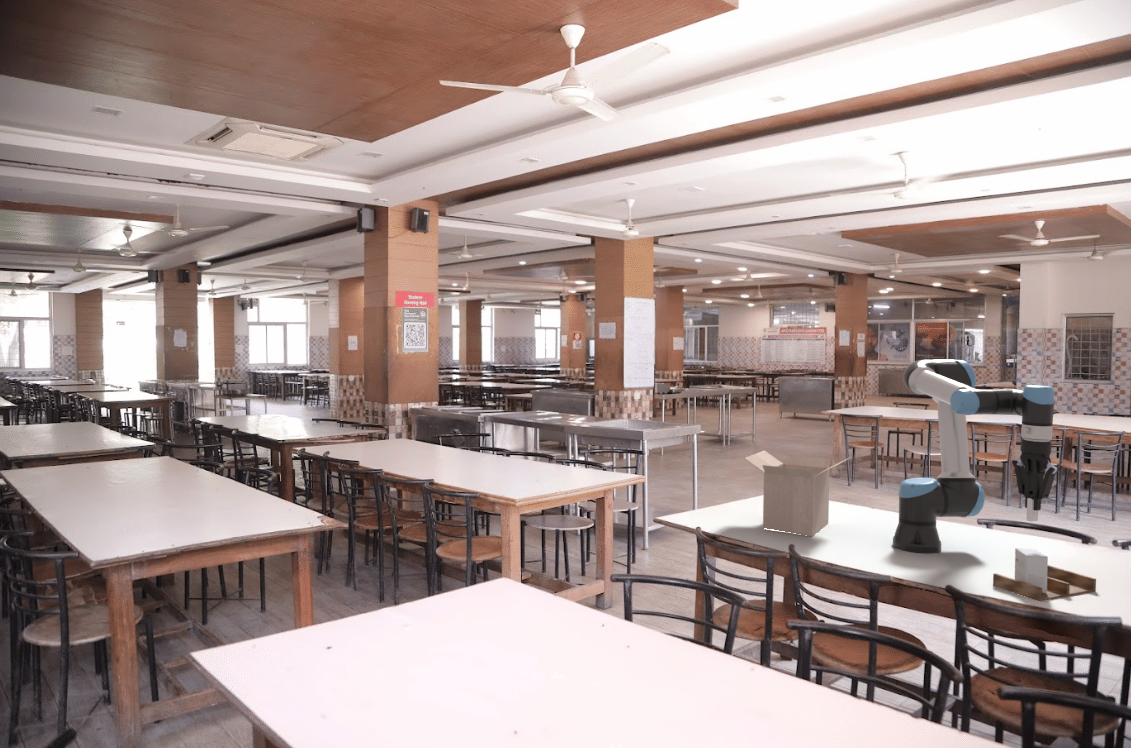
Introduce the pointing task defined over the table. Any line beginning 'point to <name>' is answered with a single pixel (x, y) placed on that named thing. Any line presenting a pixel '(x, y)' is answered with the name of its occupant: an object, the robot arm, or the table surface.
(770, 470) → the box
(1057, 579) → the rack
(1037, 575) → the small box
